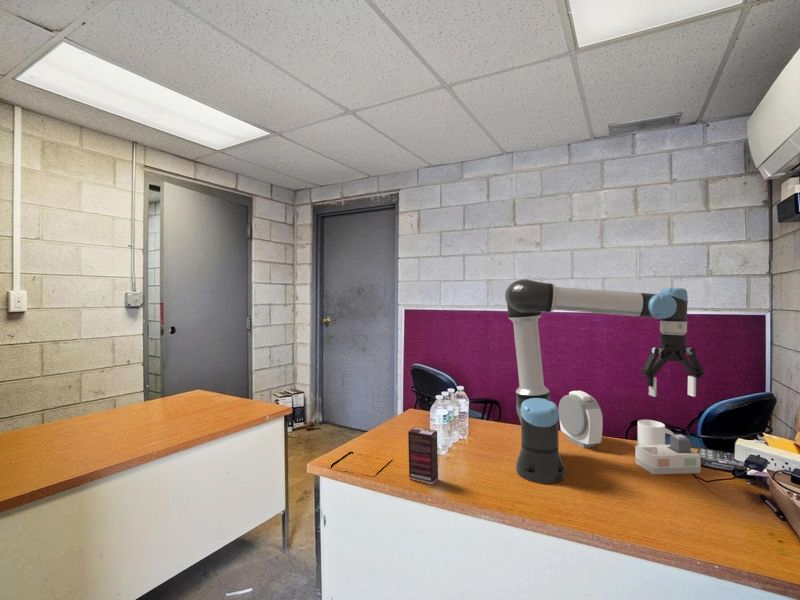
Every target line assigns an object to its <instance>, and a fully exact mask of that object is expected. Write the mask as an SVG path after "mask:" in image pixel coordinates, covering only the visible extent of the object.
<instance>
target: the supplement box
mask: <svg viewBox="0 0 800 600" xmlns="http://www.w3.org/2000/svg"><path fill="white" fill-rule="evenodd" d="M407 433H408V434H407V437H408V440H407V441H408V442H407V443H408V477H409V478H411V479H415V480H419V481H423V482H427V483H430V484H429V485H431V484H433V483H434V482H435V481H436V480H437V479H438V480H439V463H438V462H439V459H438V458H439V457H438V456H439V454H438V453H439V451H438V430H434V429H427V428H421V427H415V426H414V427H412V428H411V429H409V430H408V431H407ZM438 480H437V481H438ZM437 481H436V482H437ZM423 482H422V483H423ZM436 482H435V483H436ZM427 483H426V484H427ZM435 483H434V484H435ZM434 484H433V485H434Z"/></svg>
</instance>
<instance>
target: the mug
mask: <svg viewBox="0 0 800 600" xmlns="http://www.w3.org/2000/svg"><path fill="white" fill-rule="evenodd" d="M666 434H668V435H670V436H675V435H676V434H675V433H674V432H673V431H671V430H670V429H668V428H667V427H666V424H664V423H663V422H660V421H657V420H652V419H639V420H637V445H666Z"/></svg>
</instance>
